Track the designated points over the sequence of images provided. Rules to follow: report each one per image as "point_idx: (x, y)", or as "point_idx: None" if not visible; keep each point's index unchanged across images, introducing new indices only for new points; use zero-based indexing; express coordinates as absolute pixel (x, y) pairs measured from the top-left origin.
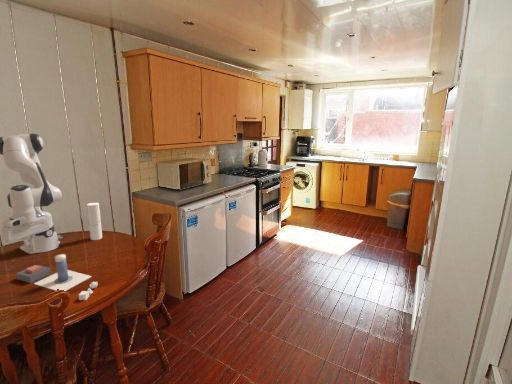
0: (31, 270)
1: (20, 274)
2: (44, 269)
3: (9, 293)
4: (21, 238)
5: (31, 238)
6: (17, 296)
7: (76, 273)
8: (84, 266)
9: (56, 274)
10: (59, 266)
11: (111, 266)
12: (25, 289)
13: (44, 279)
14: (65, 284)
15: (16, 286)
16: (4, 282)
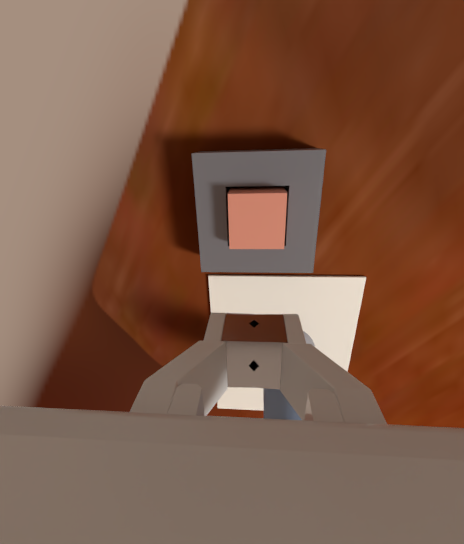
0: (229, 247)
1: (195, 192)
2: (288, 261)
3: (118, 258)
4: (140, 394)
5: (300, 395)
6: (127, 305)
7: (342, 355)
8: (418, 330)
9: (307, 291)
10: None
11: (437, 417)
12: (168, 285)
13: (252, 284)
14: None
15: (160, 225)
16: (147, 119)
